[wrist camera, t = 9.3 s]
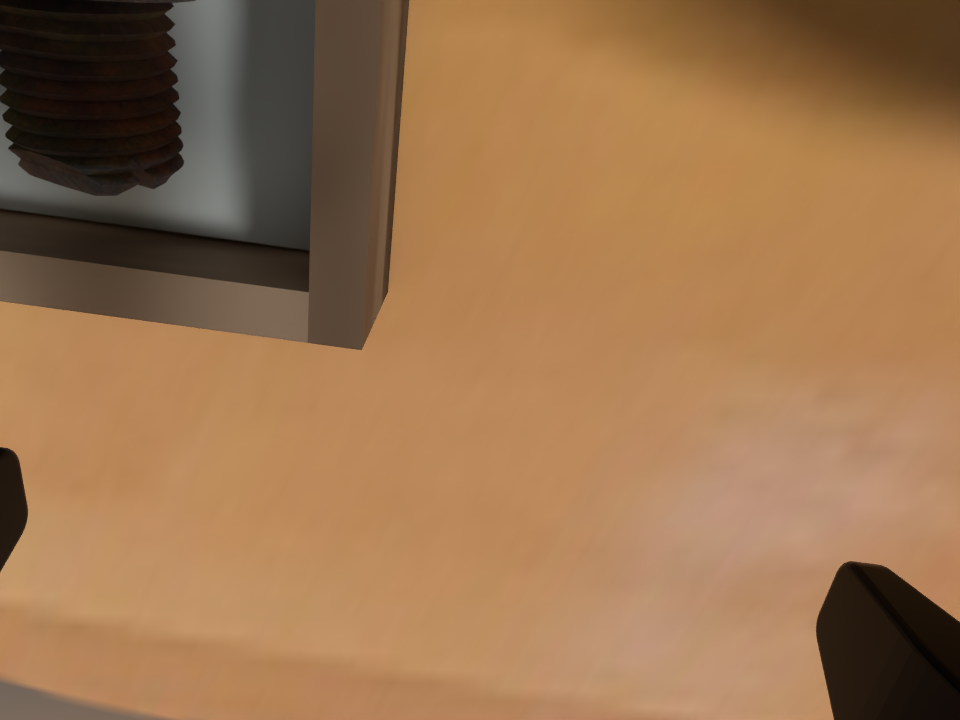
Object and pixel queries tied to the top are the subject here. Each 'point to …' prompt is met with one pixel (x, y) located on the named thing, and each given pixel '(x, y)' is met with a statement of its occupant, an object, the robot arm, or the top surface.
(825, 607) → the robot arm
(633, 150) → the top surface
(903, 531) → the top surface
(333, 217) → the wooden tray
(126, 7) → the bolt
